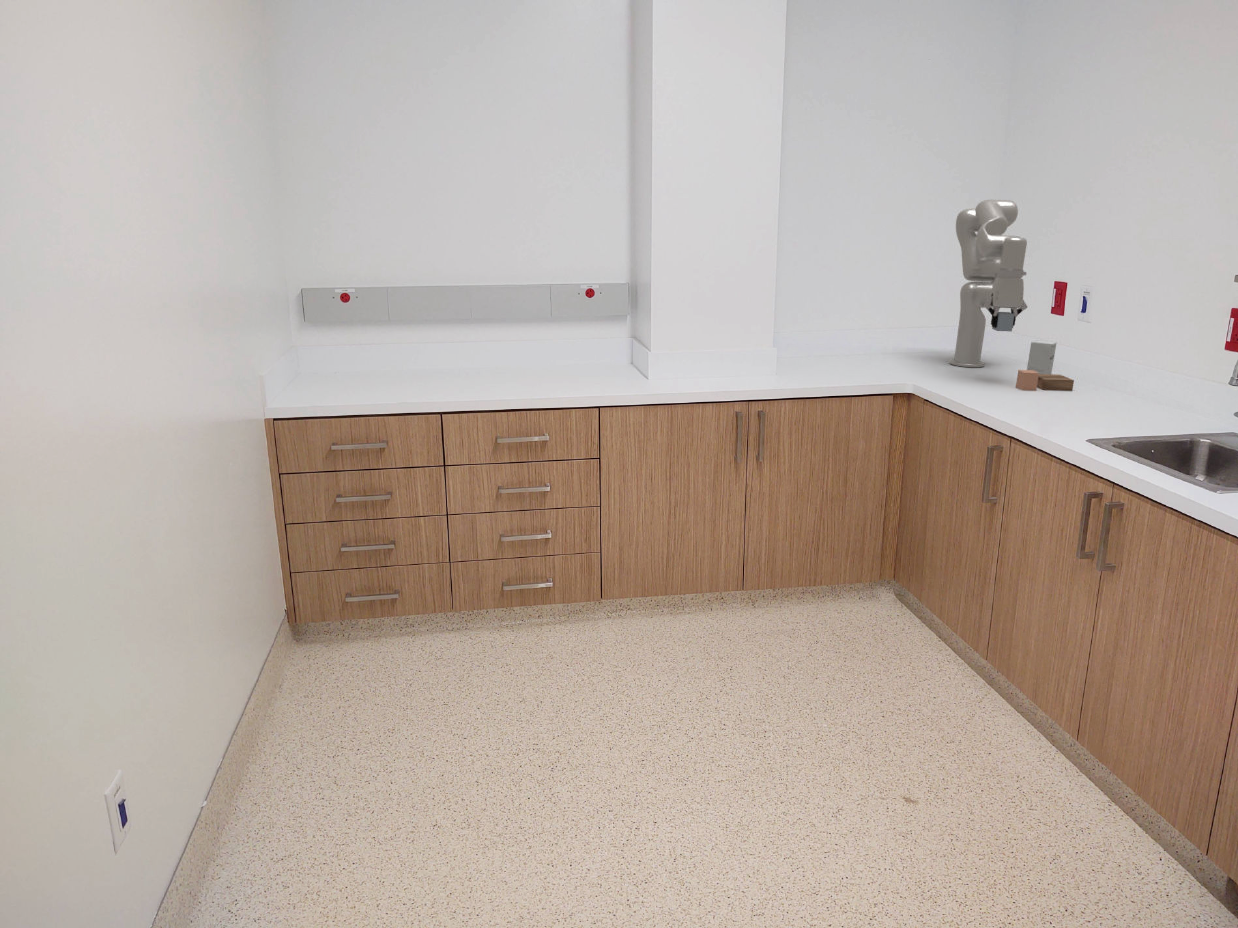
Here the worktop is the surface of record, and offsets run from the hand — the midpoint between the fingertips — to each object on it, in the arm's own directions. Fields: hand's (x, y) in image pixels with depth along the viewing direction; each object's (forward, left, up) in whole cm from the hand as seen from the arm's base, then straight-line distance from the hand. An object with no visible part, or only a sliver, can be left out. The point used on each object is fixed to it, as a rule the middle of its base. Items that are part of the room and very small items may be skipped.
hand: (1002, 327), depth 319 cm
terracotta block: (+13, +6, -19) cm, 24 cm away
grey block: (0, 0, -1) cm, 1 cm away
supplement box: (-12, +20, -19) cm, 30 cm away
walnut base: (+9, +16, -19) cm, 27 cm away
